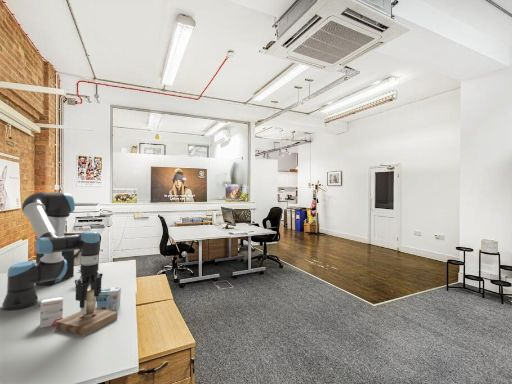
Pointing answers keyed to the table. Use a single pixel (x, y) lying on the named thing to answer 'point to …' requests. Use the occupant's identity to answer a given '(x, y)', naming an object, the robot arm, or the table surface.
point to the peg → (89, 304)
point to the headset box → (69, 273)
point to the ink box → (51, 311)
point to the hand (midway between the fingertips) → (88, 311)
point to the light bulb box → (109, 298)
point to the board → (86, 322)
